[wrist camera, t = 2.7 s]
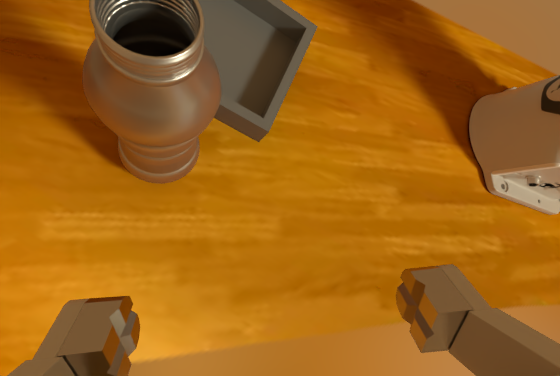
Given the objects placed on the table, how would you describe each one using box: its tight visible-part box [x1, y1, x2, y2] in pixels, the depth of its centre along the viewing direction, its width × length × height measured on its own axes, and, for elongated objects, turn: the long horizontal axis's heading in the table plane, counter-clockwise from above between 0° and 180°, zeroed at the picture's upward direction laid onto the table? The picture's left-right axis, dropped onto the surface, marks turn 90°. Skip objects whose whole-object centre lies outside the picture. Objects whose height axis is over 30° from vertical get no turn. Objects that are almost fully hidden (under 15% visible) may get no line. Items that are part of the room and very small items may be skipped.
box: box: [198, 0, 317, 142], centre depth 31 cm, size 14×14×4 cm
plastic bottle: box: [82, 0, 222, 183], centre depth 20 cm, size 6×7×20 cm
